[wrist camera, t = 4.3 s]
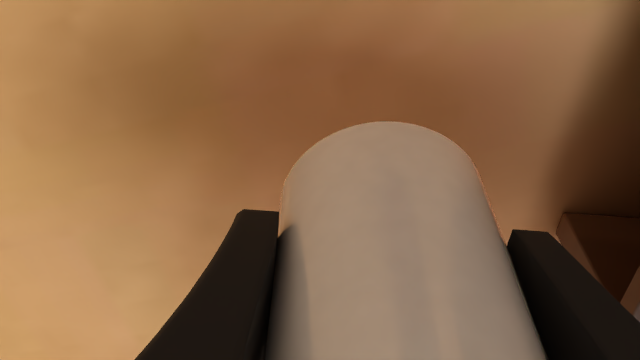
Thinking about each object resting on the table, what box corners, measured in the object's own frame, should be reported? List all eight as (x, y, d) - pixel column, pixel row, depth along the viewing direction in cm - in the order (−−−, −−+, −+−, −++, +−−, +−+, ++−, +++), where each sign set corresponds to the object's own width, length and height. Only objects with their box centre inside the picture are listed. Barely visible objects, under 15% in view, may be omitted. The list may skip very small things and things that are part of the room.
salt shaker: (459, 287, 13) (547, 646, 8) (275, 274, 13) (239, 632, 8) (507, 128, 11) (679, 481, 6) (285, 110, 11) (242, 456, 5)
